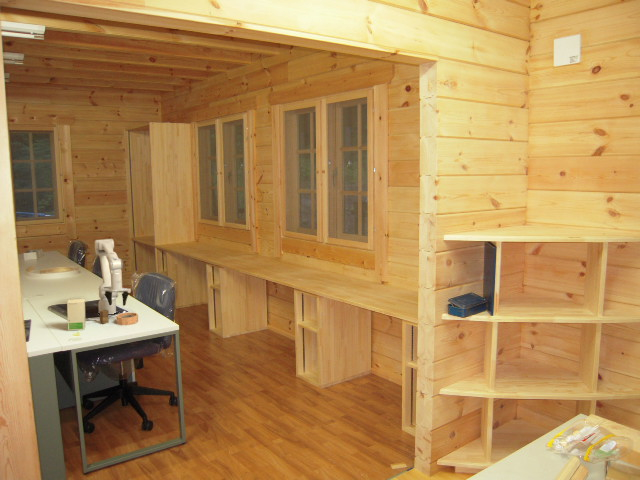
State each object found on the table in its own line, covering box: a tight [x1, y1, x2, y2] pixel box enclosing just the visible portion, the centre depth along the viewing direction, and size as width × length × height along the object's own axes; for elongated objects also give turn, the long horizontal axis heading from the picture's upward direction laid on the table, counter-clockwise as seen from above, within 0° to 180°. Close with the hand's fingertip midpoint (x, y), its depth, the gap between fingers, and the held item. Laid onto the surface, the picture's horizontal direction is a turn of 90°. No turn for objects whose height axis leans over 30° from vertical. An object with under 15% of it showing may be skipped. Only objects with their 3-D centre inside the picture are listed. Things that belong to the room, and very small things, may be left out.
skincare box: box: [66, 298, 86, 332], centre depth 290 cm, size 8×7×16 cm
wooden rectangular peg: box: [99, 310, 110, 325], centre depth 301 cm, size 2×4×7 cm, turn 154°
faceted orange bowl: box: [115, 312, 139, 326], centre depth 303 cm, size 11×11×4 cm
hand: (117, 305), depth 302 cm, fingers open, 7 cm apart
